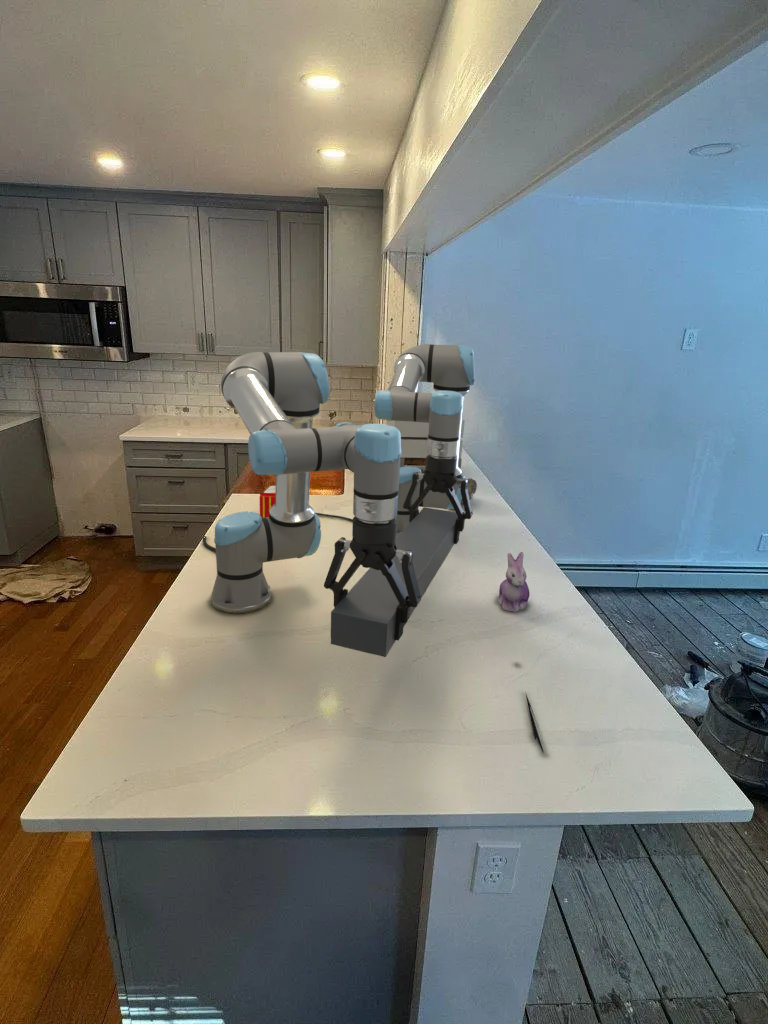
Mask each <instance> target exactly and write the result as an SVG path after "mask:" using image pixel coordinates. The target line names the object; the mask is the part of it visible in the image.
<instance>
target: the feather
mask: <svg viewBox="0 0 768 1024" xmlns="http://www.w3.org/2000/svg"><path fill="white" fill-rule="evenodd" d="M525 697H526V698H525V699H526V703H527V708H528V714H529V719H530V723H531V728H532V733H533V738H534V740H537V742H538V744H539V746H540V749H541V751H542V753H545V751H544V749H543V746H542V741H541V739H543V737H544V736H543V734H541V735H542V736H539V733H542V730H541V729H539V731H538V728H539V727H540V725H539V723H538V721H537V719H536V716H535V713H534V711H533V708H532V705H531V703H530V700H529V697H528V694H527V692H526V691H525ZM536 725H537V726H536ZM540 737H541V739H540ZM544 744H545V743H544ZM544 746H547V745H546V744H545V745H544Z"/></svg>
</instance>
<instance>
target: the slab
mask: <svg viewBox="0 0 768 1024" xmlns="http://www.w3.org/2000/svg"><path fill="white" fill-rule="evenodd" d="M457 517H458V516H457V514H456V512H455V511H452V510H446V509H440V508H430V507H422V509H421V510H419V513H418V515H417V516H416V517H415V518H414V519H413V520H412V521H411V522H410V524H409V525H408V526H407V527H406V528H405V529H404V530H403V531H402V533H401V534H400V535H399V536H398V537H397V538H396V541H395V543H396V546H397V549H399V550H403V551H407V550H409V549H411V550H412V551H413V560H412V563H413V567H414V571H415V575H416V579H417V583H418V587H419V591H420V595H421V599H423V596H424V595H425V593H426V592H427V591H428V588H429V587H430V585H431V584H432V582H433V580H434V579H435V578H436V575H437V574H438V572H439V570H440V569H441V567H442V565H443V564H444V562H445V561H446V559H447V557H448V556H449V554H450V552H451V551H452V549H453V548H454V546H455V544H454V534H455V523H456V519H457ZM460 533H461V532H460ZM460 533H459V537H461V535H460ZM392 560H393V562H394V564H395V568H396V571H397V572H398V574H399V576H400V578H401V580H402V582H403V584H404V586H405V588H406V584H405V580H404V576H403V572H402V564H400V563H399V559H398V558H397V557H396V556H395V557H394V558H393V559H392ZM406 590H407V588H406ZM398 605H399V602H398V600H397V598H396V596H395V594H394V592H393V590H392V588H391V586H390V584H389V583H388V581H387V579H386V577H385V576H384V575H383V574H382V572H381V570H375V569H373V568H368V570H367V571H366V572H364V574H363V575H362V576H361V577H360V578H359V580H358V581H357V582H356V583H355V584H354V585H353V586H352V588H351V589H350V590H348V593H347V594H346V596H345V597H344V598H343V599H342V600H341V601H340V602H339V603H338V605H337V606H336V607H335V608H334V607H333V609H332V610H331V611H330V645H333V646H337V647H341V648H344V649H350V650H354V651H357V652H362V653H366V654H369V655H370V654H371V655H373V656H379V657H382V658H387V655H388V654H389V653H390V651H391V649H392V647H393V646H394V644H395V643H396V641H397V640H395V623H396V608H397V606H398ZM416 608H417V607H410V616H409V619H410V618H411V616H412V615H413V613H414V611H415V610H416ZM409 619H408V621H409ZM406 624H407V623H406ZM406 624H405V623H404V627H403V629H404V628H405V626H406Z"/></svg>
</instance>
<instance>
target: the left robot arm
mask: <svg viewBox="0 0 768 1024" xmlns="http://www.w3.org/2000/svg"><path fill="white" fill-rule="evenodd" d="M329 382H330V380H329V375H328V371H327V368H326V364H325V362H324V361H323V359H322V358H321V357H320V355H318V354H317V353H313V352H302V351H275V352H274V351H271V352H268V351H267V352H266V351H265V352H264V351H263V352H262V351H254V352H249V353H246V354H245V353H244V354H243V355H240V356H238V357H237V358H235V359H234V360H233V361H231V363H229V364H228V366H227V367H226V368H225V370H224V371H223V374H222V376H221V380H220V389H221V394H222V396H223V398H224V400H225V402H226V404H227V405H229V407H230V408H232V409H233V410H235V411H236V412H237V414H238V415H239V417H240V418H241V420H242V422H243V424H244V426H245V428H246V429H247V431H248V433H249V437H248V443H247V449H248V461H249V463H250V467H251V470H252V471H253V473H254V474H256V475H258V476H275V486H276V492H275V504H274V505H273V506H272V507H271V508H270V510H269V517H265V518H261V516H260V513H258V512H256V511H239V512H234V513H231V514H228V515H225V516H223V517H222V518H221V519H219V520H218V521H217V522H216V524H215V526H214V539H213V541H214V544H215V547H214V546H211V545H210V544H209V543H207V537H206V535H203V536H202V543H203V545H204V546H205V547H206V548H207V549H209V550H211V551H213V552H215V557H216V558H215V559H216V560H215V561H216V578H215V581H214V585H213V588H212V591H211V595H210V599H211V605H212V606H213V608H214V609H216V610H218V611H220V612H223V613H227V614H248V613H252V612H255V611H258V610H260V609H262V608H264V607H266V606H267V605H268V604H269V603H270V601H271V598H272V597H271V586H270V585H269V584H268V581H267V578H266V576H265V574H264V567H263V566H264V563H269V562H276V561H283V560H284V561H285V560H290V559H291V560H292V559H302V558H304V557H309V556H313V555H314V554H315V553H316V552H317V551H318V549H319V547H320V544H321V539H322V529H321V526H322V523H321V520H320V517H319V515H317V514H316V513H317V512H315V510H314V508H313V507H312V506H311V505H310V488H311V484H310V483H311V473H314V472H315V473H316V472H328V471H341V470H348V471H350V472H351V473H353V491H352V492H353V496H352V497H353V500H352V501H353V502H352V514H353V518H352V519H353V522H352V530H351V536H352V539H351V540H350V539H346V538H345V537H344V536H341V537H340V538H339V539H338V540H336V541H335V542H334V555H333V557H332V560H331V563H330V566H329V569H328V572H327V575H326V577H325V580H324V582H323V588H325V589H326V590H328V589H329V590H330V591H332V592H333V609H334V608H335V607H336V606H337V605H338V603H339V602H340V601H341V600H342V599H343V598H344V597H345V596H346V594H347V593H348V592H349V590H348V589H347V588H345V586H346V585H347V584H348V582H349V581H350V580H351V578H352V577H353V576H354V574H355V573H356V572H357V570H358V569H359V568H360V566H362V568H367V569H370V568H373V569H375V570H381V572H382V574H383V575H384V576H385V577H386V579H387V581H388V583H389V584H390V586H391V588H392V590H393V592H394V594H395V596H396V598H397V600H398V602H399V605H398V606H397V608H396V623H395V640H396V641H397V642H399V641H400V639H401V637H402V636H403V635H404V628H405V626H404V623H405V624H407V623H408V621H409V620H408V619H410V618H409V616H410V607H416V608H417V607H418V606H419V604H420V602H421V601H422V598H421V595H420V591H419V587H418V583H417V579H416V575H415V571H414V567H413V563H412V560H413V551H412V550H411V549H409V550H407V551H403V550H399V549H397V546H396V543H395V541H396V525H397V520H396V519H395V517H396V516H397V508H398V488H399V474H400V460H401V453H402V451H401V433H400V431H399V430H398V429H397V428H396V427H394V426H388V425H387V424H385V423H365V424H360V425H358V424H357V423H354V422H349V421H342V422H338V423H337V424H335V425H333V426H331V427H329V426H327V427H313V419H314V418H316V416H318V415H319V414H320V407H321V405H324V404H325V403H327V402H328V401H329V398H330V383H329ZM314 512H315V513H314ZM204 537H205V538H204ZM349 549H350V551H351V553H352V554H353V555H354V557H355V558H354V559H353V561H352V562H351V564H350V565H349V567H348V568H347V570H346V571H345V572H344V573H343V575H342V576H341V577H340V579H338V575H339V572H340V570H341V567H342V565H343V561H344V559H345V556H346V553H347V552H348V551H349ZM395 556H396V557H397V558H398V559H399V563H400V564H402V572H403V576H404V580H405V584H406V588H407V590H406V588H405V586H404V584H403V582H402V580H401V578H400V576H399V574H398V572H397V571H396V568H395V564H394V562H393V560H392V559H393V558H394V557H395ZM337 579H338V581H337ZM410 617H411V616H410ZM403 627H404V628H403Z"/></svg>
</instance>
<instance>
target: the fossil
mask: <svg viewBox="0 0 768 1024" xmlns="http://www.w3.org/2000/svg"><path fill="white" fill-rule="evenodd" d="M467 479H468V485H467V489H468V494H469V498H470V501H471V500H472V499H473V496H474V495H475V494H476V491H477V487H478V483H477V480H476V479H474V478H472V477H471V478H467ZM460 504H461V506H462V508H464V505H463V500H462V499H461V503H460ZM449 511H455V510H454V509H449Z"/></svg>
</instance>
